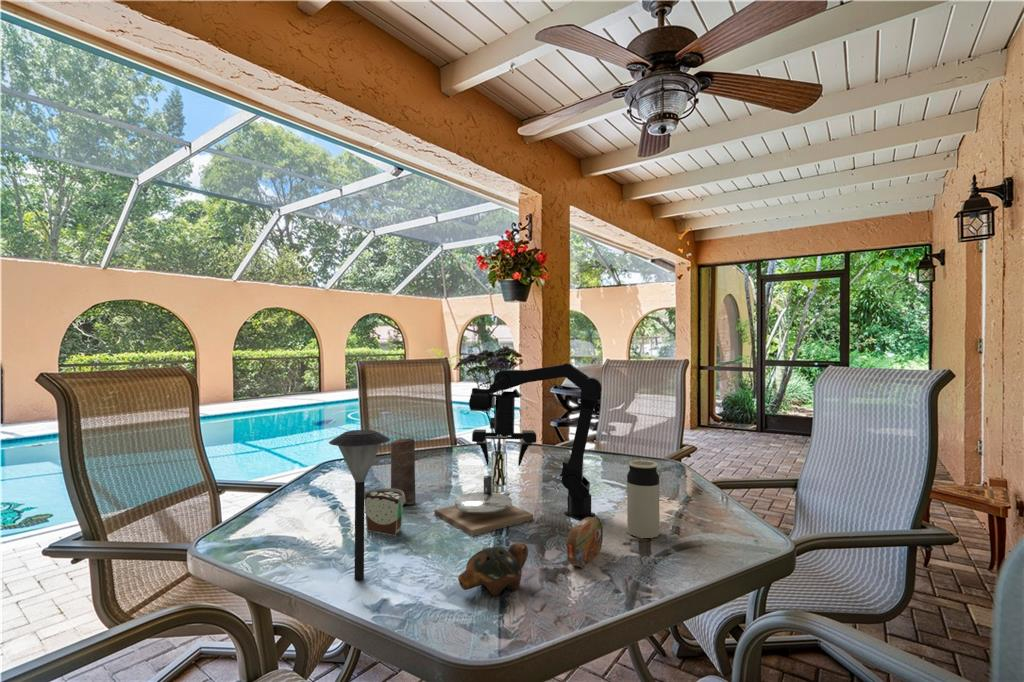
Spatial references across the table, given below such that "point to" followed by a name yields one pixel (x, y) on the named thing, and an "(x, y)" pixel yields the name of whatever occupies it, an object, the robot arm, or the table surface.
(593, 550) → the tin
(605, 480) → the table surface
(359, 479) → the solar garden light
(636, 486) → the travel mug
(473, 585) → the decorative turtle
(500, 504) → the handwheel
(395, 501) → the food container
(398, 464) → the candle
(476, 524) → the base plate
